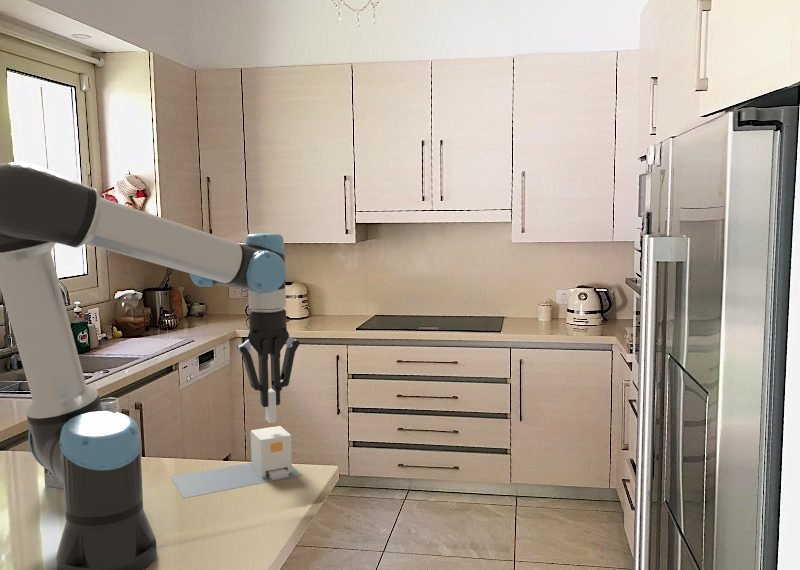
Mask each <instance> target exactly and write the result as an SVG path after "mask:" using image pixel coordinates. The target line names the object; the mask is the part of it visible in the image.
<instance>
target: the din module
mask: <svg viewBox="0 0 800 570" xmlns="http://www.w3.org/2000/svg"><path fill="white" fill-rule="evenodd" d="M292 451H293V449H292V434H290V433H289V431H287V430H286V429H284V427H282V426H281V425H278V426H271V427H264V428H258V429H251V430H250V457H251V458H250V459H251V461H250V463H252V468H253V469H254V470H255V471H256V472H257V473H258V475H259V476H260V477H261V478H265V477H266V471H269V470H275V469H280V468H285V469H286V470H287V471H288V472H289V473H291V472H292V466H293V464H292V463H293V460H292V459H293V455H292Z"/></svg>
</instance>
